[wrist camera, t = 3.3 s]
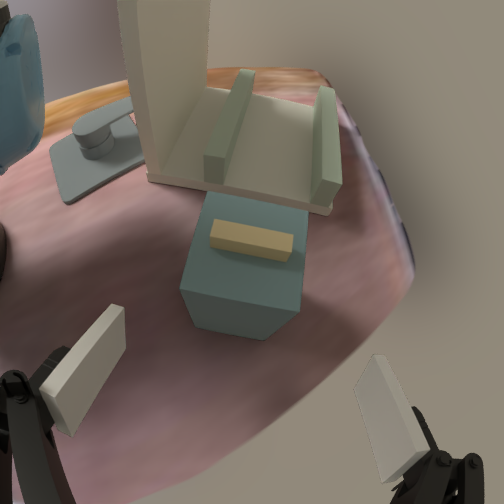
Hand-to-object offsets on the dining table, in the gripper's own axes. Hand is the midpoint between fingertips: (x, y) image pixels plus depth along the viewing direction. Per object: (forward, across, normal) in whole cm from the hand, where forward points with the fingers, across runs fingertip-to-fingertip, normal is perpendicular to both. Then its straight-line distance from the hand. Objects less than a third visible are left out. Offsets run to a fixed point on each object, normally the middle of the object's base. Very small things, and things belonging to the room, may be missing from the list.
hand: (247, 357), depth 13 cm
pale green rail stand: (+25, -3, +11) cm, 28 cm away
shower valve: (+22, -22, +8) cm, 32 cm away
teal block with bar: (+11, -1, -3) cm, 11 cm away
